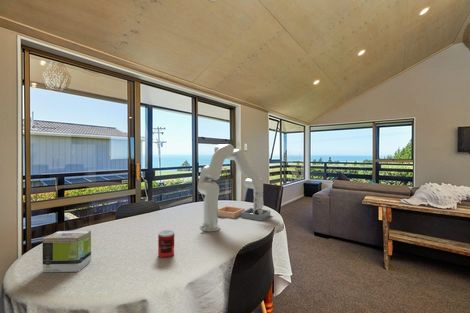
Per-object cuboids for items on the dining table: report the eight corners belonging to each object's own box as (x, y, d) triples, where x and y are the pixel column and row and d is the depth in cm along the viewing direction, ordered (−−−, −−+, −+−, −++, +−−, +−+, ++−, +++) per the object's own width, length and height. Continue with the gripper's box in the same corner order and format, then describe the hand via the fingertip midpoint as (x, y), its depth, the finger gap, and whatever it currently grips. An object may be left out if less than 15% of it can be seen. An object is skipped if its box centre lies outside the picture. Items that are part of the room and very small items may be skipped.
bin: (261, 222, 173) (261, 215, 173) (240, 218, 182) (240, 212, 182) (270, 216, 189) (270, 210, 189) (250, 213, 198) (250, 207, 197)
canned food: (168, 250, 122) (168, 229, 122) (177, 254, 117) (177, 232, 117) (154, 254, 116) (155, 232, 116) (164, 259, 111) (164, 236, 111)
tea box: (91, 261, 108) (91, 230, 108) (78, 272, 98) (78, 237, 98) (58, 261, 108) (58, 230, 107) (41, 273, 98) (41, 237, 97)
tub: (233, 219, 179) (234, 213, 179) (214, 216, 188) (214, 210, 188) (244, 214, 195) (244, 208, 195) (226, 211, 203) (226, 205, 203)
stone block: (260, 218, 180) (260, 210, 180) (252, 217, 183) (253, 209, 183) (262, 216, 185) (263, 209, 185) (256, 215, 188) (256, 208, 188)
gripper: (258, 196, 175) (258, 220, 175) (266, 192, 190) (266, 214, 190) (249, 195, 178) (249, 218, 179) (258, 191, 193) (258, 213, 194)
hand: (258, 216), depth 184 cm, fingers closed on stone block, 6 cm apart
